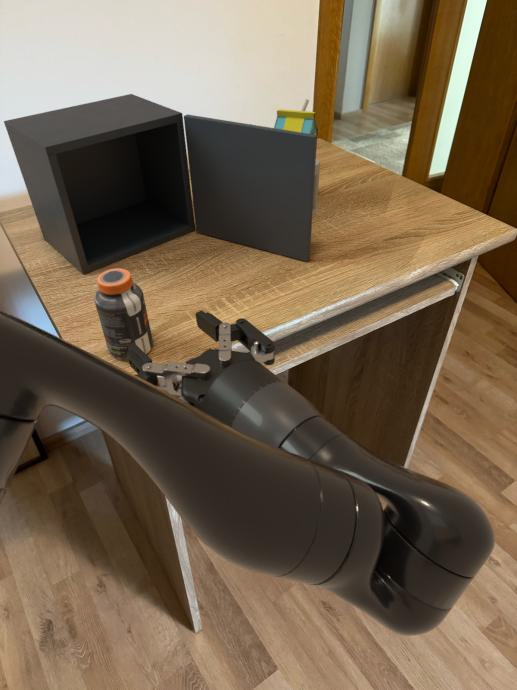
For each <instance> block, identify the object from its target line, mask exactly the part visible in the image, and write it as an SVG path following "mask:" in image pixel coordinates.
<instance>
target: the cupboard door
mask: <svg viewBox="0 0 517 690" xmlns="http://www.w3.org/2000/svg"><path fill="white" fill-rule="evenodd" d="M183 125H184V134H185V142H186V151H187V160H188V169H189V178H190V187H191V196H192V205H193V214H194V223H195V232H196V233H199V234H202V235H206V236H210V237H213V238H218V239H221V240H224V241H229V242H233V243H236V244H240V245H244V246H247V247H251V248H253V249H259V250H262V251H266V252H270V253H272V254H277V255H282V256H284V257H287V258H292V259H296V260H298V261H303V262H309V260H310V258H311V242H312V227H313V220H314V219H315V218H316V217H317V215H318V201H319V187H320V171H321V160H319V159H317V149H316V146H318V134H317V135H314V134H307V133H301V132H295V131H288V130H282V129H276V128H274V127H268V126H262V125H256V124H250V123H244V122H239V121H233V120H225V119H218V118H212V117H205V116H199V115H195V114H185V115H183Z"/></svg>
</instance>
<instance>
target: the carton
mask: <svg viewBox="0 0 517 690" xmlns="http://www.w3.org/2000/svg"><path fill="white" fill-rule="evenodd" d="M309 102H310V100H309V99H307V98H305V99H304V102H303V104H302V107H301V109H300V110H294V109H293V110H292V109H281V108H280V109H279V108H278V109H277V110H276V119H275V123H274V127H273V128H276V129H282V130H288V131H295V132H301V133H307V134H314V135H317V136H318V131H319V130H318V128H319V127H318V125H317V121H316V120H315V117H316V116H315V115H316V112H315V111H306V109H307V107H308V105H309ZM317 146H318V145H317ZM317 146H316V150H318V149H317Z"/></svg>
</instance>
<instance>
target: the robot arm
mask: <svg viewBox="0 0 517 690" xmlns="http://www.w3.org/2000/svg"><path fill="white" fill-rule="evenodd" d="M195 320H196V321H195V322H196V325H197V328H198V329H199V330H201V332H203V333H205V334H206V335H207V336H208V337H209V338H210V339H212V340H213V341H214V342H216V343H218V348H214V349H212V348H210V347H209V348H208V349H206V350H204V351H203V352H202V353H201V354H200V355H199V356H198V355H197V356H196V357H192V358H190V359H188V360H187V361H185V362H177V361H168V362H167V363H166V364H165V363H157V362H153V359H152V358H151V357H150V356H149V355H148V354H145V353H144V352H143V351H142V350H141V349H140V348H139V347H138V346H137V345H136V344H132V345H130V346H128V349H129V352H127V356H128V360H127V361H128V364H129V367H131V369H132V370H133V371H134V372H135V373H136V374H135V373H131V372H129V371H127V370H126V369H123V368H122V367H119V366H117V365H115V364H113V363H111V362H109V361H107V360H106V359H103V358H101V357H99V356H97V355H95V354H93V353H92V352H89V351H87V350H85V349H83V348H82V347H79V346H77V345H76V344H73V343H71V342H69V341H67V340H65V339H63V338H61V337H59V336H57V335H55V334H53V333H51V332H49V331H47V330H45V329H42V328H41V327H38V326H36V325H34V324H32V323H30V322H28V321H26V320H24V319H22V318H20V317H17V316H16V315H14V314H11V313H9V312H7V311H4V310H2V309H0V505H1V503H2V501H3V499H4V497H5V495H6V493H7V491H8V490H9V485H10V484H11V483H12V481H13V478H14V476H15V474H16V472H17V470H18V467H19V464H20V462H21V460H22V458H23V456H24V453H25V451H26V449H27V447H28V445H29V442H30V440H31V438H32V437H33V436H32V435H33V434H34V431H35V429H36V427H37V425H38V419H40V417H41V414H42V412H43V411H44V410H45V409H46V408H47V407H56V408H58V409H61V410H64V411H66V412H68V413H69V414H73V415H74V416H76V417H78V418H80V419H82V420H84V421H86V422H87V423H89V424H91V425H93V426H94V427H96V428H97V429H99V430H100V431H101V432H102V433H104V434H106V435H107V436H109V438H111V439H112V440H113V441H115V442H116V443H117V444H118V445H119V446H120V447H121V448H123V450H125V451H126V452H127V453H128V454H129V456H130V457H131V458H132V459H133V460H134V461H135V462H136V463H137V464H138V465H139V467H141V469H142V470H143V471H144V472H145V473H146V475H147V476H148V477H149V478H150V479H151V481H152V482H153V483H154V484H155V485H156V486H157V488H158V489H159V490H160V492H161V493H162V494H163V495H164V497H165V498H166V499H167V500H168V501H167V502H169V503H170V505H171V506H172V507H173V509H174V510H175V511H176V513H177V514H178V515H179V517H180V518H181V519H182V520H183V522H184V523H185V524H186V525H187V526H188V528H189V529H190V530H191V531H192V532H193V534H194V535H195V536H196V537H197V538H198V539H199V540H200V541H201V542H202V543H203V544H204V545H205V546H206V547H207V548H209V549H210V550H211V551H212V552H214V553H215V554H217V555H218V556H220V557H221V558H223V559H224V560H226V561H227V562H229V563H231V564H233V565H235V566H238V567H239V568H241V569H245V570H248V571H250V572H253V573H256V574H261V575H266V576H270V577H274V578H279V579H283V580H287V581H292V582H296V583H300V584H305V585H309V586H315V587H320V588H322V589H324V590H325V591H327V592H329V593H332V594H333V595H335V596H336V597H338V598H339V599H342V600H343V601H345V602H346V603H348V604H349V605H351V606H353V607H354V608H357V609H358V610H360V611H361V612H363V613H364V614H366V615H367V616H369V618H371V619H373V621H375V622H377V623H378V624H379V625H381V626H383V627H384V628H386V629H388V630H389V631H391V632H393V633H395V634H398V635H400V636H407V637H414V636H421V635H424V634H427V633H430V632H431V631H433V630H435V629H437V628H438V627H439V625H441V624H442V623H443V622H444V620H445V619H446V618H447V616H448V615H449V613H450V612H451V610H452V609H453V608H454V606H455V605H456V604H457V602H458V601H459V600H460V598H461V597H462V595H463V594H464V592H465V591H466V590H467V588H468V587H469V586H470V585H471V583H472V582H473V580H474V579H475V577H476V576H477V575H478V573H479V572H480V571H481V569H482V568H483V566H484V565H485V564H486V562H487V561H488V559H489V558H490V557H491V555H492V553H493V550H494V548H495V545H496V537H495V535H496V534H495V530H494V528H493V525H492V522H491V521H490V519H489V517H488V515H487V513H486V512H485V510H484V509H483V508H482V507H481V506H480V504H478V502H476V500H475V499H474V498H472V497H471V496H470V495H468V494H467V493H465V492H464V491H462V490H460V489H458V488H457V487H454V486H452V485H450V484H449V483H445V482H444V481H441V480H438V479H435V478H433V477H430V476H428V475H425V474H422V473H420V472H417V471H414V470H412V469H409V468H407V467H405V466H402V465H400V464H398V463H396V462H394V461H392V460H389V458H388V459H387V458H386V457H384V456H382V455H379V454H378V453H376V452H374V451H372V450H371V449H369V448H367V447H366V446H364V445H363V444H361V443H360V442H358V441H357V440H356V439H354V438H353V437H351V436H350V435H349V434H348V433H347V432H346V431H344V430H342V429H341V428H340V427H339V426H338V425H336V423H334V422H332V421H331V420H330V419H328V417H326V416H325V415H324V414H322V413H321V412H320V411H319V410H318V409H317V407H315V405H314V404H313V403H311V401H310V400H309V399H307V398H306V397H305V396H303V395H302V394H301V393H300V392H298V391H297V390H296V389H295V388H293V387H292V386H291V385H289V384H288V383H287V382H286V381H284V380H283V379H282V378H280V376H278V375H276V374H275V373H274V372H272V371H271V369H269V368H267V367H266V366H273V365H274V364H275V362H276V359H275V358H276V357H275V354H276V352H275V351H276V350H275V348H276V345H275V344H276V343H275V342H274V341H273V340H272V339H271V338H270V337H269V336H268V335H266V334H265V333H263V332H262V331H261V330H259V328H257V327H256V326H255V325H254V324H252V323H251V322H250V321H249V320H247V319H246V318H243V317H242V318H238V319H236V321H235V322H234V323H231V324H230V323H229V322H226V321H225V322H223V321H222V320H220V318H218V317H217V316H215V315H214V314H213V313H210V312H205V311H204V310H199V311H197V312H196V313H195ZM236 341H237V342H239V343H240V344H241V345H242V346H243V347H245V348H246V350H248V352H244V351H237V350H233V343H232V342H236ZM249 352H250V353H249ZM263 364H264V365H263ZM265 365H266V366H265ZM178 376H179V377H180V376H181V381H179V379H178ZM178 396H179V397H178ZM380 499H382V500H383V501H384V502H385V503H386V506H385V507H384V508H383V504H382V502H381V500H380Z"/></svg>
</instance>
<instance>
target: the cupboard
mask: <svg viewBox="0 0 517 690" xmlns="http://www.w3.org/2000/svg"><path fill="white" fill-rule="evenodd" d="M3 125H4V127H5V130H6V132H7V135H8V138H9V142H10V143H11V147H12V150H13V152H14V156H15V159H16V162H17V165H18V167H19V170H20V173H21V176H22V180H23V182H24V184H25V188H26V191H27V194H28V197H29V199H30V203H31V205H32V209H33V211H34V215H35V217H36V220H37V223H38V225H39V229H40V232H41V234H42V238H43V240H44V241H45V242H46V243H47V244H48V245H49V246H50V247H52V248H53V249H54V250H55V251H56V252H58V254H60V255H61V256H62V257H63V258H64V259H65V260H66V261H67V262H68V263H70V264H71V266H73V267H74V268H75V269H76V270H77V271H78V272H79V273H81V275H87V274H89V273H91V272H94V271H96V270H98V269H102V268H104V267H107V266H109V265H112V264H114V263H116V262H119V261H122V260H124V259H127V258H129V257H132V256H134V255H137V254H139V253H141V252H144V251H147V250H149V249H152V248H154V247H157V246H159V245H162V244H165V243H167V242H169V241H172V240H174V239H177V238H179V237H182V236H185V235H186V234H189V233H192V232H196V223H195V214H194V205H193V196H192V187H191V178H190V169H189V160H188V151H187V142H186V133H185V124H184V115H183V112H180V111H177V110H176V109H172V108H169V107H167V106H164V105H162V104H159V103H157V102H154V101H151V100H149V99H146V98H143V97H141V96H138V95H135V94H133V93H129V94H123V95H119V96H115V97H110V98H106V99H100V100H96V101H92V102H86V103H82V104H77V105H72V106H69V107H63V108H59V109H54V110H49V111H44V112H40V113H35V114H31V115H26V116H22V117H17V118H12V119H11V118H10V119H6V120H3Z"/></svg>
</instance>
